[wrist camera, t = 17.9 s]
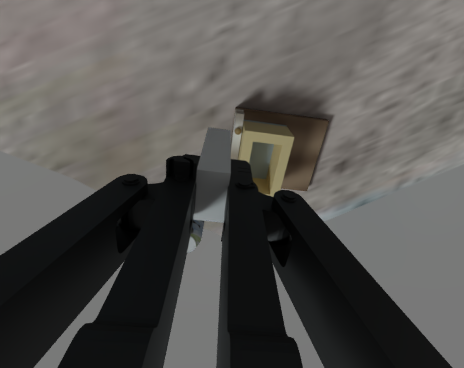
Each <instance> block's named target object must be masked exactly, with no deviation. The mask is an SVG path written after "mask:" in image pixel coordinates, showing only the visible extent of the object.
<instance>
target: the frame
mask: <svg viewBox="0 0 464 368" xmlns="http://www.w3.org/2000/svg"><path fill="white" fill-rule="evenodd" d="M293 141H294V136H293V134H292V133H291V132H290V130H289V129H288V127H287V126H286V125H280V124H272V123H265V122H258V121H251V120H244V121H243V127H242V134H241V140H240V147H239V153H238V160H244V161H247V162H248V163H249V164H250V166H251V172H252V178H253V182H254V183H255V184H256V185H257V186H258V191H259V192H261V193H263V194H265V195H268V196H272V197H273V196H274V194H275V192H277V191H279V190H280V189H281V186H282V182H283V178H284V174H285V171H286V167H287V163H288V160H289V156H290V152H291V148H292V145H293Z"/></svg>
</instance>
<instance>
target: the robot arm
mask: <svg viewBox="0 0 464 368" xmlns="http://www.w3.org/2000/svg"><path fill="white" fill-rule="evenodd" d="M193 216H194V217H193ZM193 220H202V221H212V222H222V223H224V224H223V231H222V238H221V241H222V258H221V280H220V301H219V323H218V344H217V366H216V368H303V366H302V362H301V357H300V353H299V350H298V347H297V343H296V342H295V340H294V339H293V338H291V337H288V336H287V334H286V331H285V327H284V321H283V316H282V311H281V306H280V301H279V295H278V291H277V285H276V280H275V274H274V269H273V265H274V267H275V269H276V271H277V273H278V275H279V277H280V279H281V281H282V283H283V285H284V287H285V289H286V291H287V293H288V295H289V297H290V299H291V301H292V303H293V305H294V307H295V309H296V311H297V313H298V315H299V317H300V319H301V321H302V323H303V325H304V327H305V329H306V331H307V333H308V335H309V337H310V339H311V341H312V344H313V346H314V348H315V350H316V351H317V354H318V356H319V358H320V360H321V362H322V364H323V366H324V368H452V367H451V366H450V364H449V363H448V362H447V361H446V360H445V359H444V358H443V357H442V355H441V354H440V353H439V352H438V351H437V350H436V349H435V347H433V345H432V344H431V343H430V342H429V341H428V340H427V339H426V337H425V336H424V335H423V334H422V333H421V332H420V331H419V329H418V328H417V327H416V326H415V325H414V324H413V323H412V322H411V320H410V319H409V318H408V317H407V316H406V315H405V313H403V311H402V310H401V309H400V308H399V307H398V306H397V305H396V303H395V302H394V301H393V300H392V299H391V298H390V297H389V296H388V294H387V293H386V292H385V291H384V290H383V289H382V287H380V285H379V284H378V283H377V282H376V281H375V280H374V278H373V277H372V276H371V275H370V274H369V273H368V272H367V270H366V269H365V268H364V267H363V266H362V265H361V264H360V263H359V261H358V260H357V259H356V258H355V257H354V256H353V255H352V253H351V252H350V251H349V250H348V249H347V248H346V247H345V246H344V244H343V243H342V242H341V241H340V240H339V239H338V238H337V236H336V235H335V234H334V233H333V232H332V231H331V230H330V228H329V227H328V226H327V225H326V224H325V223H324V222H323V221H322V219H321V218H320V217H319V216H318V215H317V214H316V213H315V211H314V210H313V209H312V208H311V207H310V206H309V205H308V204H307V202H306V201H305V200H304V199H303V198H302V197H301V196H300V195H299V194H296V193H294V192H293V191H289V190H279V191H277V192H275V194H274V196H273V197H272V196H268V195H265V194H263V193H261V192H259V191H258V186H257V185H256V184H255V183H254V182H253V178H252V172H251V166H250V164H249V163H248V162H247V161H244V160H236V159H231V130H225V129H217V128H209V127H208V131H207V134H206V138H205V142H204V145H203V149H202V153H201V156H196V155H188V154H185V155H183V156H173V157H170V158H168V159H167V160H166V178H165V180H164V182H162V183H156V184H147V179H146V178H145V177H144V176H141V175H136V174H127V175H123V176H120V177H118V178H116V179H115V180H113V181H112V182H110V183H109V184H107V185H106V186H104V187H103V188H101V189H100V190H98V191H97V192H95V193H94V194H92V195H91V196H89V197H88V198H86V199H85V200H83V201H81V202H80V203H79V204H77V205H75V206H74V207H72V208H71V209H69V210H68V211H67V212H65V213H63V214H62V215H61V216H59V217H57V218H56V219H55V220H53V221H51V222H50V223H49V224H47V225H46V226H44V227H42V228H41V229H39V230H38V231H36V232H35V233H33V234H32V235H31V236H29V237H28V238H26V239H24V240H23V241H21V242H20V243H18V244H17V245H15V246H14V247H12V248H11V249H9V250H8V251H6V252H5V253H4V254H2V255H0V368H34V366H35V365H36V364H37V363H38V362H39V361H40V359H41V358H42V357H43V356H44V355H45V353H46V352H47V351H48V350H49V349H50V348H51V346H52V345H53V344H54V343H55V342H56V341H57V339H58V338H59V337H60V336H61V335H62V334H63V332H64V331H65V330H66V329H67V328H68V326H69V325H70V324H71V323H72V322H73V321H74V319H75V318H76V317H77V316H78V314H80V312H81V311H82V310H83V309H84V308H85V307H86V305H87V304H88V303H89V302H90V301H91V300H92V298H93V297H94V296H95V295H96V294H97V292H98V291H99V290H100V289H101V288H102V286H103V285H104V284H105V283H106V282H107V281H108V279H109V278H110V277H111V276H112V275H113V274H114V272H115V271H116V270H117V269H118V268H119V267H120V265H121V264H122V263H123V262H124V261H125V262H124V264H123V266H122V268H121V270H120V272H119V274H118V276H117V278H116V280H115V282H114V284H113V286H112V288H111V290H110V292H109V294H108V296H107V298H106V300H105V302H104V304H103V306H102V308H101V310H100V312H99V314H98V316H97V318H96V320H95V321H94V322H92V323H86V324H84V325H83V326H82V327H81V328H80V329H79V331H78V332H77V334H76V335H75V337H74V338H73V340H72V342H71V344H70V346H69V347H68V349H67V351H66V353H65V355H64V357H63V359H62V360H61V362H60V364H59V366H58V368H163V365H164V360H165V355H166V351H167V346H168V341H169V336H170V332H171V327H172V322H173V317H174V312H175V308H176V303H177V297H178V293H179V288H180V284H181V279H182V274H183V269H184V264H185V259H186V255H187V250H188V245H189V240H190V236H191V231H192V226H193ZM272 263H273V264H272Z"/></svg>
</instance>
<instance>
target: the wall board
mask: <svg viewBox="0 0 464 368" xmlns="http://www.w3.org/2000/svg"><path fill="white" fill-rule="evenodd" d="M244 120H251V121H258V122H265V123H272V124H280V125H286V126H287V127H288V129H289V130H290V132H291V133H292V134H293V136H294V141H293V145H292V148H291V152H290V156H289V160H288V163H287V167H286V171H285V174H284V178H283V182H282V186H281V188H283V189H292V190H301V191H307V189H308V186H309V183H310V180H311V177H312V174H313V170H314V167H315V164H316V161H317V158H318V155H319V152H320V148H321V145H322V142H323V139H324V136H325V133H326V130H327V126H328V123H329V121H328V120H327V119H320V118H312V117H305V116H297V115H290V114H282V113H275V112H267V111H260V110H252V109H245V108H237V107H236V109H235V116H234V124H233V131H232V139H231V159H236V160H238V153H239V147H240V140H241V134H242V127H243V121H244Z"/></svg>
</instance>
